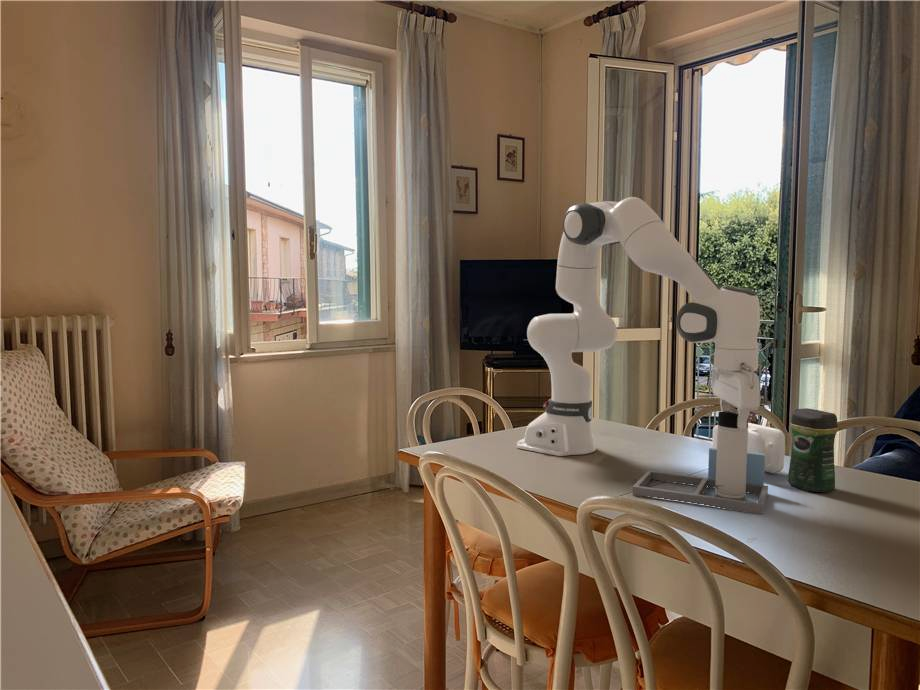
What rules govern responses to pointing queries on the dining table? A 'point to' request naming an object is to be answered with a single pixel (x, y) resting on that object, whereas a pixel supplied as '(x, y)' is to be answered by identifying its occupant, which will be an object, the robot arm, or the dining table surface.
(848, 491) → the dining table surface
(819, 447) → the coffee jar
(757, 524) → the dining table surface
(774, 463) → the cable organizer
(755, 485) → the rack
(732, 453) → the travel mug
